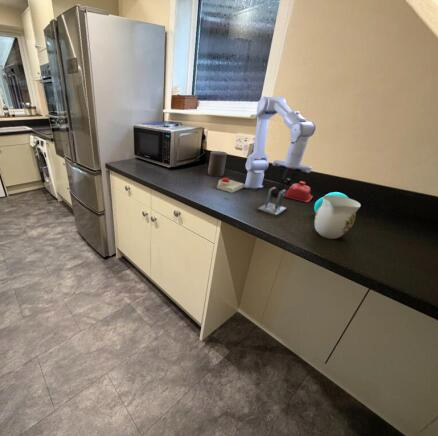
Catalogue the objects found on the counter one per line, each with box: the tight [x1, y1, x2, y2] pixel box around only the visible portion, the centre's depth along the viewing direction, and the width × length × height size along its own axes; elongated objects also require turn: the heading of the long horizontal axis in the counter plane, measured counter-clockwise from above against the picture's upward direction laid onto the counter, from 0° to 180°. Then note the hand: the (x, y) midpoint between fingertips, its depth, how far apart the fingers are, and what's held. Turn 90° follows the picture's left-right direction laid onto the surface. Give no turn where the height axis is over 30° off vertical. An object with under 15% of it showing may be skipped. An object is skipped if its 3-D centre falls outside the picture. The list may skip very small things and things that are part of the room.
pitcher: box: [313, 195, 362, 240], centre depth 83 cm, size 11×18×14 cm, turn 127°
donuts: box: [313, 191, 349, 214], centre depth 95 cm, size 10×10×10 cm
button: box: [221, 177, 230, 182], centre depth 124 cm, size 4×4×2 cm
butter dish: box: [284, 180, 314, 203], centre depth 113 cm, size 12×12×8 cm
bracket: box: [257, 186, 287, 216], centre depth 100 cm, size 10×8×10 cm
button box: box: [216, 178, 245, 194], centre depth 126 cm, size 12×10×4 cm
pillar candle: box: [207, 150, 228, 178], centre depth 144 cm, size 10×10×15 cm
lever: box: [272, 177, 291, 199], centre depth 100 cm, size 12×3×3 cm, turn 131°
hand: (285, 184), depth 102 cm, fingers closed on lever, 3 cm apart
